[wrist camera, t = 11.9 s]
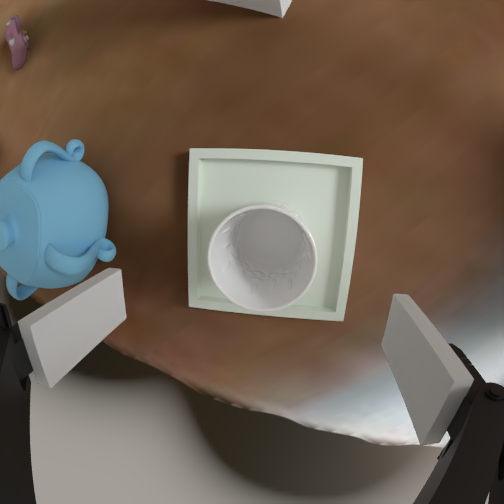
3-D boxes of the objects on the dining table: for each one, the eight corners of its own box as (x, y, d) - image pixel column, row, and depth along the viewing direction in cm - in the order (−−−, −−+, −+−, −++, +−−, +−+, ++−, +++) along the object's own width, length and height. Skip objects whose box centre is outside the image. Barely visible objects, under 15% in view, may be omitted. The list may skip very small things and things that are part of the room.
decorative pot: (139, 263, 35) (70, 308, 22) (55, 281, 38) (-10, 317, 24) (108, 134, 31) (27, 124, 18) (28, 176, 34) (-43, 185, 21)
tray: (358, 159, 28) (362, 158, 27) (341, 313, 33) (343, 321, 31) (195, 149, 30) (189, 148, 29) (193, 300, 35) (188, 306, 33)
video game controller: (38, 58, 31) (25, 35, 24) (15, 74, 30) (0, 53, 23) (29, 28, 29) (18, 6, 22) (8, 42, 28) (-5, 21, 21)
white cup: (263, 284, 32) (249, 329, 23) (218, 225, 31) (185, 247, 22) (325, 243, 30) (338, 275, 21) (280, 180, 29) (274, 182, 20)
